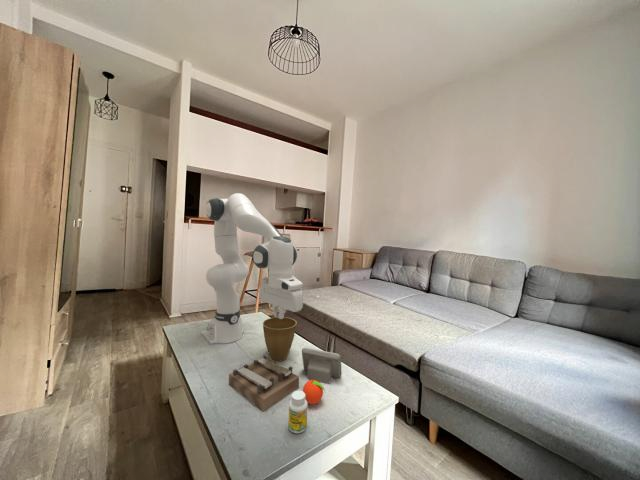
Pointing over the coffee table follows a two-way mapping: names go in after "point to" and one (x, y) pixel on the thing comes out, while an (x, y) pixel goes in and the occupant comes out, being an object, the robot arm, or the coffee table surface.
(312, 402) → the clementine
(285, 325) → the plant pot
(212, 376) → the coffee table surface
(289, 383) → the strap base
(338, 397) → the coffee table surface
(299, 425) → the supplement bottle
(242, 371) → the near strap
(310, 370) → the digital clock
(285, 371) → the strap
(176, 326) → the coffee table surface
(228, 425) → the coffee table surface
